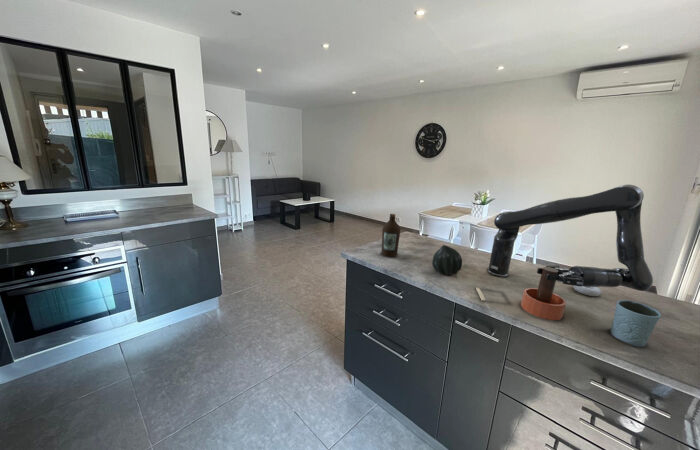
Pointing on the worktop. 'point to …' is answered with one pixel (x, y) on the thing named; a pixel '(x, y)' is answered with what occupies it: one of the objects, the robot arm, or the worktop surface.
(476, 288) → the cloth
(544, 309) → the pot
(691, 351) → the worktop surface
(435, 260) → the squash
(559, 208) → the robot arm
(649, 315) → the blue embossed planter
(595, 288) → the donut
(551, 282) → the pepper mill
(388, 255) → the olive oil
